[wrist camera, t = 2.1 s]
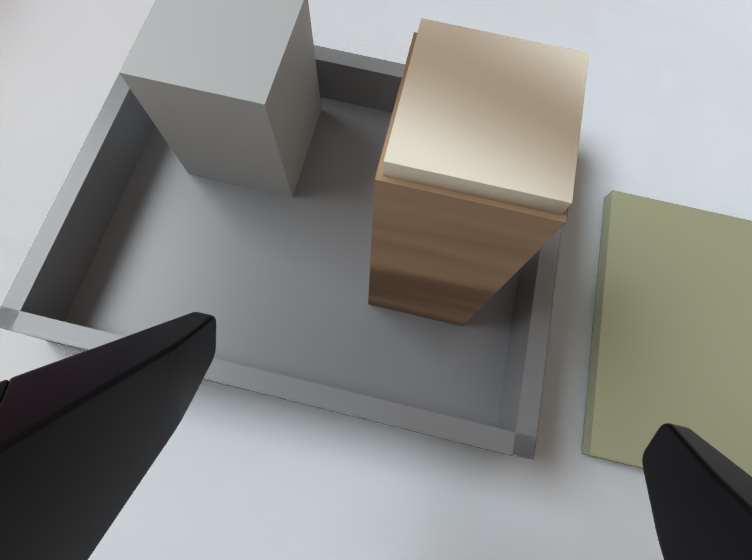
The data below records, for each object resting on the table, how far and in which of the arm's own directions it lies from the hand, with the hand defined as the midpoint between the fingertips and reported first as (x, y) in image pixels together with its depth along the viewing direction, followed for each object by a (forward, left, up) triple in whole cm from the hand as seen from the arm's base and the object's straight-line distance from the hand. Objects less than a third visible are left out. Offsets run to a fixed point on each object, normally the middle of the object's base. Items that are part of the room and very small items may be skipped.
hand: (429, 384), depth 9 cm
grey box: (+12, +10, -12) cm, 19 cm away
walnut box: (+7, 0, -12) cm, 13 cm away
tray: (+8, +5, -12) cm, 15 cm away
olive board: (+7, -14, -12) cm, 19 cm away
